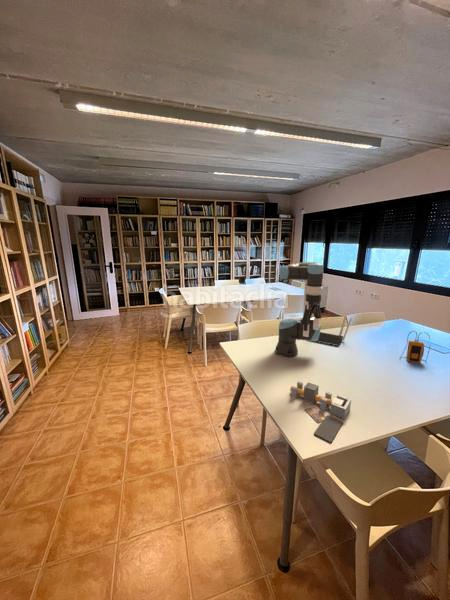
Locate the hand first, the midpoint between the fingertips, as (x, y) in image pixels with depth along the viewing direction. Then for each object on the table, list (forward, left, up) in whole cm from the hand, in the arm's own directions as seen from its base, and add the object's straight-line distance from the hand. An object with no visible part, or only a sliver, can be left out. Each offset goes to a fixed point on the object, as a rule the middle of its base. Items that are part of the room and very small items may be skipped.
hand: (310, 333), depth 131 cm
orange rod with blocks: (+11, -18, -26) cm, 34 cm away
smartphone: (+22, -32, -27) cm, 47 cm away
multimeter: (+42, +67, -27) cm, 84 cm away
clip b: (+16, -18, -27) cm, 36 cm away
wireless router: (-13, +67, -27) cm, 74 cm away
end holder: (+22, -18, -27) cm, 39 cm away
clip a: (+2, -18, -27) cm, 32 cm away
